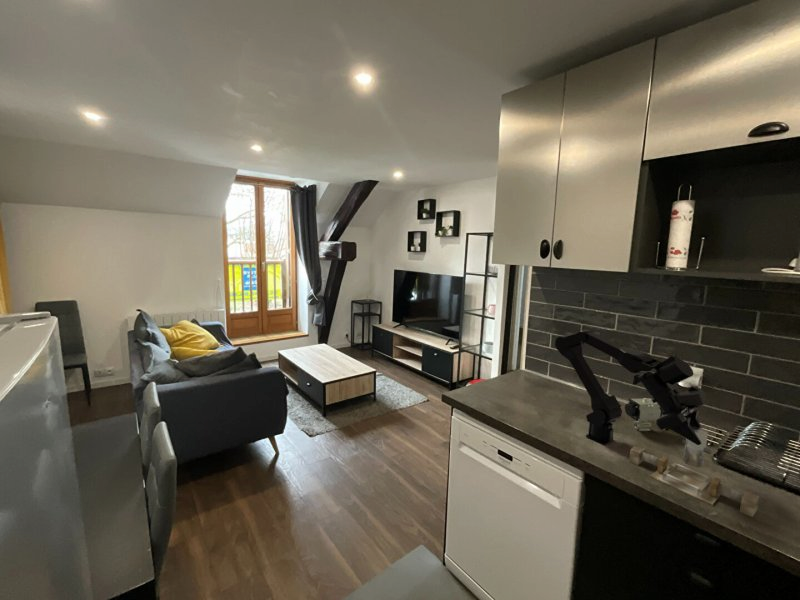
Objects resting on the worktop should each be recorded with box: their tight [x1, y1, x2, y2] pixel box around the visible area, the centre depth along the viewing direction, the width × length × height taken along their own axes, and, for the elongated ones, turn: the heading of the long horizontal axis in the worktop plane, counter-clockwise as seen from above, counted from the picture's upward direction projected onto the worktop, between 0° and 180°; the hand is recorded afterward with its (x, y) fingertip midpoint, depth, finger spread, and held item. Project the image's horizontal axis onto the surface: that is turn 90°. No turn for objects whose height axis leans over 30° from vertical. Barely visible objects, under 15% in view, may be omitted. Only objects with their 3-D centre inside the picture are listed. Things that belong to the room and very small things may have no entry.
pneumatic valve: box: [624, 397, 664, 432], centre depth 129 cm, size 6×12×12 cm, turn 94°
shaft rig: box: [628, 445, 760, 518], centre depth 100 cm, size 28×10×4 cm, turn 35°
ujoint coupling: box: [681, 426, 713, 468], centre depth 100 cm, size 7×4×10 cm
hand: (702, 441), depth 99 cm, fingers closed on ujoint coupling, 4 cm apart
